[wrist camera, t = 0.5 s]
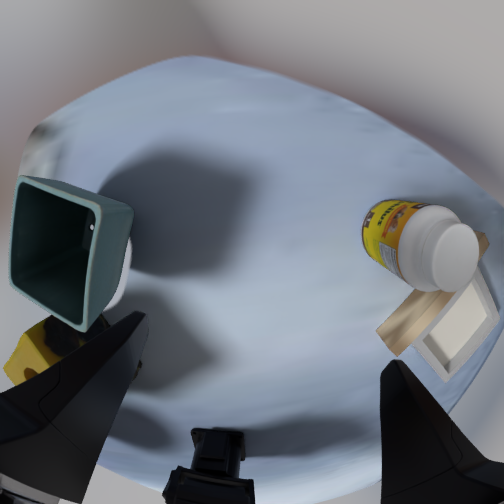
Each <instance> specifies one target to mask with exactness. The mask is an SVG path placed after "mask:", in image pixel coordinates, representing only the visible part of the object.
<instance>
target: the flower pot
mask: <svg viewBox="0 0 504 504" xmlns="http://www.w3.org/2000/svg"><path fill="white" fill-rule="evenodd" d="M133 219H134V210H133V208H132V207H131V206H129V205H127V204H125V203H122V202H119V201H116V200H113V199H110V198H107V197H104V196H102V195H99V194H96V193H93V192H90V191H87V190H84V189H82V188H79V187H76V186H73V185H71V184H68V183H65V182H61V181H57V180H51V179H45V178H39V177H32V176H24V175H20V176H19V177H18V180H17V183H16V187H15V193H14V199H13V207H12V218H11V229H10V243H9V282H10V285H11V287H12V288H13V289H15V290H16V291H17V292H19V293H20V294H22V295H23V296H24V297H26V298H28V299H29V300H31V301H32V302H34V303H35V304H37V305H38V306H40V307H41V308H42V309H44V310H46V311H47V312H49V313H51V314H52V315H54V316H55V317H57V318H59V319H60V320H62V321H63V322H65V323H67V324H68V325H70V326H71V327H73V328H74V329H76V330H78V331H81V332H86V331H87V330H88V329H89V327H90V326H91V325H92V324H93V322H94V321H95V320H96V319H97V317H98V316H99V315H100V314H101V312H102V311H103V310H104V309H105V307H106V306H107V305H108V303H109V302H110V300H111V299H112V297H113V296H114V294H115V292H116V290H117V287H118V284H119V281H120V277H121V273H122V268H123V262H124V257H125V252H126V247H127V243H128V239H129V235H130V230H131V227H132V223H133ZM91 225H93V226H94V229H93V230H91V229H90V226H91Z"/></svg>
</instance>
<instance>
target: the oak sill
mask: <svg viewBox="0 0 504 504" xmlns="http://www.w3.org/2000/svg"><path fill="white" fill-rule="evenodd" d="M473 231H474V230H473ZM474 233H475V235H476V237H477V240H478V244H479V259H478V261H479V260H480V259H481V257H482V255H483V254H484V252H485V251H486V249H487V248H488V246H489V245H490V244H489V242H488V240H487V238H486V236H485V234H484V233H482V232H478V231H474ZM456 292H457V291H455V292H445V291H442V290H441V289H440V290H437V291H433V292H424V291H420V290H417V289H415V290H414V291H413V292H412V293H411V294H410V295H409V296H408V298H407V299H406V300H405V301H404V302H403V303H402V304H401V305H400V306H399V307H398V308H397V309H396V311H395V312H394V313H393V314H392V315H391V316H390V317H389V318H388V319H387V320H386V321H385V322H384V323H383V324H382V325H381V326H380V327H379V328H378V329H377V330H376V332H377V333H378V335H379V336H380V337H381V339H382V340H383V342H384V343H385V344H386V346H387V347H388V348H389V350H390V351H391V352H393V353H394V354H395V355H396V356H397V357H398V356H399V355H400V354H401V353H402V352H403V351H404V350H405V349H406V348H407V347H408V346H409V345H410V344H411V343H412V342H413V341H414V340H415V339H416V338H417V337H418V336H419V335H420V334H421V332H422V331H423V330H424V329H425V328H426V327H427V326H428V325H429V324H430V323H431V322H432V320H433V319H434V318H435V317H436V316H437V315H438V314H439V312H440V311H441V310H442V309H443V308H444V307H445V305H446V304H447V303H448V302H449V300H450V299H451V298H452V297H453V296H454V294H455V293H456Z"/></svg>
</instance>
